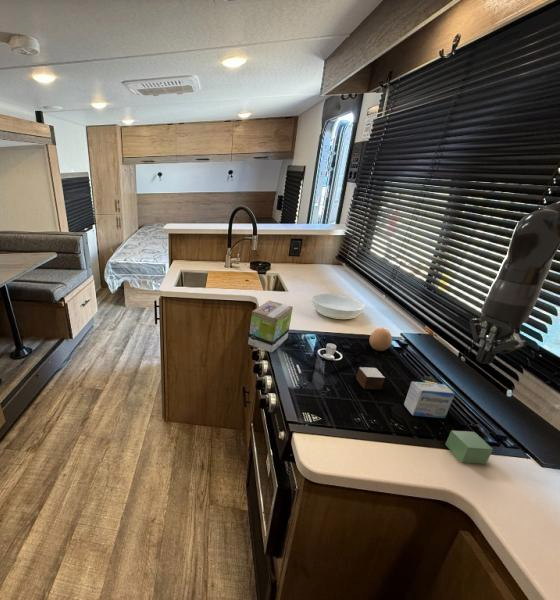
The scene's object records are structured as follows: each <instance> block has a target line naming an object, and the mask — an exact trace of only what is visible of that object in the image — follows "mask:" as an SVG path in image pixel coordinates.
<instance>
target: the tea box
mask: <svg viewBox="0 0 560 600" xmlns="http://www.w3.org/2000/svg"><path fill="white" fill-rule="evenodd" d="M293 308H294V307H293V306H292V305H289V304H288V305H287V304H285V303H281V302H278V301H273V300H267V301H266V302H265V303H263V304H261V305H260V306H258V307H257V308H255V309H253V310H252V312H251V318H250V328H249V333H248V341H247V345H248V346H252V347H254V348H258V349H260V350H263V351H266V352H267V353H268V352H269V353H271V354H272V353H273V352H274V351H276V349H278V348H279V347H280V346H281V345H282V344H283V343H284V342H285V341H286V340H287V339H288V338H289V337H288V336H289V331H290V326H291V320H292V315H293Z"/></svg>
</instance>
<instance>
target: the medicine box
mask: <svg viewBox="0 0 560 600" xmlns="http://www.w3.org/2000/svg"><path fill="white" fill-rule="evenodd" d="M455 396H456V393H455V392H454V391H452V389H450V388H449V387H448V386H447V385H446V384H444V383H437V382H422V381H411V382H410V385H409V388H408V391H407V395H406V397H405V400H404V403H403V405H404V407H405V408H406V409H407V411H408V412H409V413H410V414H411V415H412V416H415V417H427V418H436V419H437V418H439V419H446V417H447V415H448V411H449V410H450V407H451V405H452V403H453V400H454V398H455Z"/></svg>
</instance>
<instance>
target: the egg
mask: <svg viewBox="0 0 560 600" xmlns="http://www.w3.org/2000/svg"><path fill="white" fill-rule="evenodd" d="M392 342H393V337H392V334H391V331H389V330H388V329H387V328H385V327H379V328H376V329H375V330H373V331H372V333H371V334H370V335H369V342H368V343H369V345H370V347H371V348H372V349H373V350H375V351H377V352H384V351H387V350H388V349H389V348H390V347H391V345H392Z"/></svg>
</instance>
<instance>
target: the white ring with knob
mask: <svg viewBox="0 0 560 600" xmlns="http://www.w3.org/2000/svg"><path fill="white" fill-rule="evenodd" d="M322 350H325V353H323V354H321V351H322ZM335 353H337V354H338V355H339V356H340V357H339V358H336V359H335V356H334V354H335ZM317 354H318V355H319V356H320V357H322V358H323V359H325V360H327V361H340V360H342V359H343V354H342V353H341V352H339V351H338V350H337V345H336V344H335V343H332V342H331V343H330V342H329V343H327V344H326V345H325V348H323V347H322V348H320V349H318V350H317Z"/></svg>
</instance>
